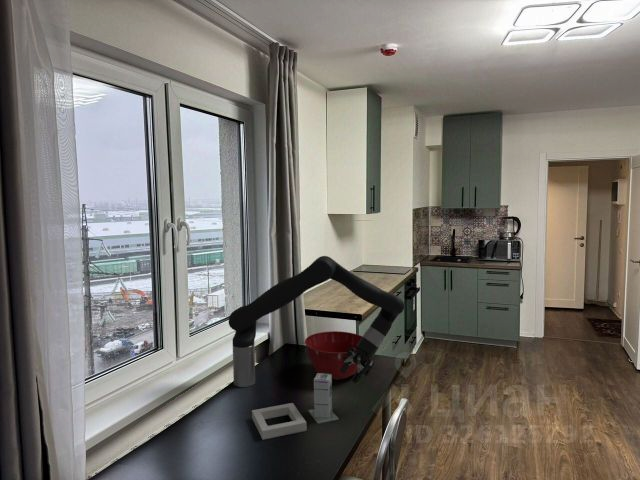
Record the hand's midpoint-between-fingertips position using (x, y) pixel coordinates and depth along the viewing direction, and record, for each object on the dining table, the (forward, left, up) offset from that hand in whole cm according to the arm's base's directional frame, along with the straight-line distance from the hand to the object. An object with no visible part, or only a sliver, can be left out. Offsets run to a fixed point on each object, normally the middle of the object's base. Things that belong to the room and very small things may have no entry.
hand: (347, 377), depth 171 cm
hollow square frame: (+3, -28, -12) cm, 31 cm away
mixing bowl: (-30, +9, -12) cm, 34 cm away
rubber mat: (+3, -11, -12) cm, 16 cm away
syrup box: (+3, -11, -11) cm, 16 cm away
